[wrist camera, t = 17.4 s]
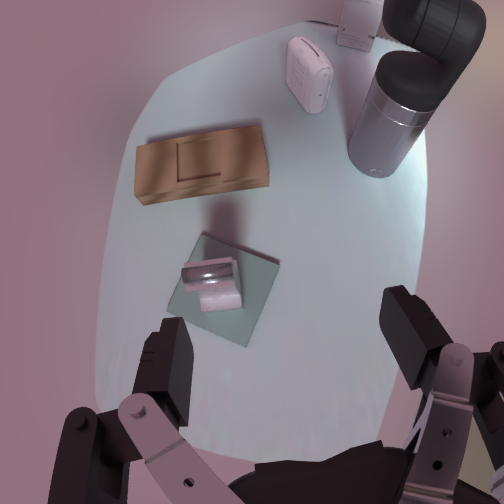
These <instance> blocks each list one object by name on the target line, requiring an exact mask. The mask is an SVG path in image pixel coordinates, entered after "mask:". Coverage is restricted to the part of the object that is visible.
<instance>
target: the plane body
mask: <svg viewBox="0 0 504 504" xmlns="http://www.w3.org/2000/svg"><path fill="white" fill-rule="evenodd" d="M268 186H269V171H268V166H267V160H266V154H265V149H264V143H263V138H262V133H261V127H260V125H258V126H250V127H242V128H234V129H227V130H220V131H214V132H207V133H201V134H195V135H190V136H184V137H179V138H174V139H169V140H164V141H159V142H154V143H150V144H145V145H141V146H137V150H136V165H135V185H134V195H135V197H136V198H137V199H138V200H139V201H140V202H141V204H142V205H143V206H144V205H150V204H155V203H161V202H167V201H172V200H178V199H184V198H191V197H197V196H203V195H210V194H217V193H223V192H230V191H238V190H245V189H253V188H260V187H268Z"/></svg>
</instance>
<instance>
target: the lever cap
mask: <svg viewBox="0 0 504 504" xmlns="http://www.w3.org/2000/svg"><path fill="white" fill-rule="evenodd" d="M181 274H182V280H183V283H184V284H186V292H188V293H190V294H191V295H193V296H195V297H196V298H198V299H200V305H201V312H203V313H205V314H214V313H223V312H231V311H240V310H244V307H243V299H242V291H241V283H240V274H239V266H238V264H237V261H236V260H233V259H232V257H226V258H218V259H211V260H203V261H195V262H188V263H184V268H182V271H181Z"/></svg>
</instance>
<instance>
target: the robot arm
mask: <svg viewBox="0 0 504 504" xmlns="http://www.w3.org/2000/svg"><path fill="white" fill-rule="evenodd" d="M382 20H383V25H384V28H385V30H386V32H387V33H388V34H389V35H390V36H391V37H393V38H394V39H396V40H398V41H399V42H401V43H403V44H405V45H407V46H410V47H412V48H414V49H416V50H418V51H420V52H411V51H391V52H388V53H386V54H385V55H383V56H382V58H381V59H380V61H379V63H378V66H377V69H376V72H375V75H374V78H373V80H372V83H371V86H370V89H369V92H368V95H367V97H366V100H365V103H364V106H363V108H362V111H361V114H360V116H359V119H358V122H357V124H356V127H355V129H354V132H353V134H352V137H351V140H350V142H349V145H348V154H349V157H350V159H351V161H352V163H353V164H354V165H355V166H356V168H357V169H359V170H360V171H361V172H363V173H364V174H366V175H368V176H371V177H376V178H384V177H388V176H390V175H391V174H393V173H394V172H395V171H396V169H397V168H398V166H399V165H400V163H401V162H402V160H403V159H404V158H405V156H406V155H407V153H408V152H409V150H410V149H411V147H412V146H413V144H414V143H415V141H416V140H417V138H418V137H419V135H420V134H421V132H422V131H423V129H424V128H425V126H426V125H427V123H428V121H429V120H430V118H431V117H432V115H433V113H434V112H435V110H436V109H437V107H438V106H439V104H440V103H441V101H442V100H443V99H444V98H445V97H446V96H447V94H448V93H449V91H450V90H451V88H452V86H453V85H454V83H455V82H456V81H457V79H458V78H459V76H460V75H461V74H462V72H463V71H464V69H465V68H466V67H467V65H468V64H469V63H470V61H471V60H472V58H473V56H474V55H475V53H476V52H477V50H478V48H479V46H480V44H481V42H482V39H483V37H484V33H485V29H486V16H485V13H484V11H483V9H482V8H481V7H480V6H479V5H478V4H477V3H476V2H474V1H472V0H384V4H383V11H382ZM379 324H380V328H381V331H382V333H383V335H384V337H385V339H386V341H387V343H388V345H389V347H390V349H391V351H392V353H393V355H394V357H395V359H396V361H397V363H398V365H399V367H400V369H401V371H402V373H403V375H404V377H405V379H406V381H407V383H408V385H409V387H410V389H411V390H414V389H417V388H421V390H422V392H423V393H422V395H421V397H420V401H419V404H418V407H417V410H416V414H415V417H414V420H413V423H412V426H411V429H410V432H409V434H408V437H407V439H406V441H405V443H404V445H403V447H402V449H401V448H395V447H383V444H382V441H381V440H379V441H375V442H372V443H368V444H364V445H361V446H357V447H353V448H350V449H348V450H346V451H344V452H342V453H340V454H338V455H336V456H334V457H331V458H329V459H327V460H325V461H321V462H309V461H292V460H284V461H276V462H268V463H259V464H255V471H253V472H250V473H248V474H246V475H243V476H241V477H240V478H238V479H236V480H235V481H233V482H232V483H230V484H229V485H228V486H227V485H226V484H224V482H223V481H222V480H221V479H220V478H219V477H218V476H217V475H216V474H215V473H214V472H213V471H212V469H211V468H210V467H209V466H208V465H207V464H206V463H205V462H204V461H203V459H201V457H200V456H199V455H198V454H197V452H195V450H194V449H193V448H192V447H191V445H190V444H189V443H188V442H187V441H186V440H185V439H184V438H183V437H182V436H181V435H180V433H179V427H184V426H188V419H189V406H190V394H191V383H192V372H193V361H194V352H193V346H192V342H191V339H190V336H189V334H188V331H187V328H186V325H185V322H184V319H183V317H173V318H164V319H163V320H162V323H161V327H160V332H152V333H151V334H150V336H149V337H148V338H147V340H146V341H145V343H144V347H143V351H142V355H141V359H140V363H139V366H138V370H137V375H136V379H135V383H134V387H133V391H132V395H130V396H128V397H126V398H125V399H124V400H123V401H122V402H121V404H120V405H119V408H118V409H115V410H112V411H108V412H104V413H100V414H96V413H95V412H94V411H93V410H92V409H90V408H87V407H80V408H77V409H74V410H73V411H71V412H70V413H69V415H68V416H67V418H66V419H65V423H64V426H63V430H62V434H61V439H60V442H59V447H58V451H57V455H56V461H55V465H54V470H53V475H52V480H51V486H50V492H49V498H48V504H127V494H128V480H129V467H130V462H131V461H136V460H139V459H144V460H145V465H146V467H147V469H148V470H149V472H150V473H151V474H152V476H153V477H154V479H155V480H156V482H157V483H158V485H159V486H160V487H161V489H162V490H163V491H164V493H165V494H166V495H167V497H168V498H169V499H170V501H171V502H172V503H173V504H504V402H503V400H502V398H501V396H500V394H499V392H500V391H501V393H502V395H503V397H504V342H497V343H495V344H494V345H493V346H492V348H491V350H490V352H482V353H472V352H471V350H470V349H469V348H468V347H466V346H464V345H462V344H459V343H454V342H453V341H452V339H451V338H450V336H449V335H448V333H447V332H446V331H445V329H444V328H443V326H442V325H441V323H440V322H439V321H438V319H436V317H435V315H434V314H433V312H431V309H430V308H429V307H428V305H427V304H426V302H424V301H423V300H422V299H420V298H419V297H418V296H416V295H412V296H411V295H410V294H409V292H408V291H407V289H406V288H405V287H404V286H403V285H399V286H394V287H388V288H385V289H384V292H383V298H382V304H381V310H380V315H379ZM472 414H473V417H474V419H475V421H476V423H477V426H478V428H479V431H480V433H481V435H482V438H483V440H484V443H485V445H486V448H487V450H488V453H489V456H490V458H491V461H492V464H493V466H494V469H495V474H494V476H493V480H492V485H491V488H490V490H491V493H492V494H493V496H491V495H489V494H487V493H485V492H483V491H481V490H479V489H477V488H475V487H473V486H471V485H469V484H467V483H466V482H464V481H462V480H460V479H458V476H459V472H460V468H461V465H462V461H463V457H464V453H465V449H466V444H467V440H468V435H469V430H470V425H471V419H472Z"/></svg>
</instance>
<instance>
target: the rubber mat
mask: <svg viewBox="0 0 504 504" xmlns="http://www.w3.org/2000/svg"><path fill="white" fill-rule="evenodd" d="M226 257H232V259H233V260H236V261H237V264H238V266H239V274H240V283H241V291H242V299H243V307H244V310H240V311H231V312H223V313H214V314H205V313H203V312H201V305H200V299H198V298H196V297H195V296H193V295H191V294H190V293H188V292H186V284H184V283H183V280H182V277H181V279H180V282H179V284H178V286H177V288H176V290H175V293H174V295H173V297H172V299H171V302H170V304H169V306H168V308H167V312H169V313H171V314H173V315H175V316H177V317H183V319H184V320H185V321H187V322H190V323H192V324H194V325H196V326H198V327H200V328H203V329H205V330H207V331H209V332H212V333H214V334H216V335H218V336H221V337H223V338H225V339H227V340H230V341H232V342H234V343H237V344H239V345H242V346H244V347H247V344H248V342H249V340H250V337H251V335H252V333H253V330H254V328H255V325H256V323H257V321H258V318H259V316H260V314H261V311H262V309H263V306H264V304H265V302H266V299H267V297H268V294H269V292H270V290H271V287H272V285H273V282H274V280H275V277H276V275H277V273H278V270H279V268H280V265H277V264H275V263H272V262H270V261H267V260H265V259H262V258H260V257H257V256H255V255H252V254H250V253H247V252H244V251H242V250H239V249H237V248H234V247H232V246H229V245H227V244H224V243H222V242H219V241H217V240H214V239H212V238H209V237H207V236H204V235H201V236H200V239H199V241H198V243H197V245H196V247H195V249H194V251H193V253H192V255H191V258H190V260H189V262H195V261H203V260H211V259H218V258H226Z"/></svg>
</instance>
